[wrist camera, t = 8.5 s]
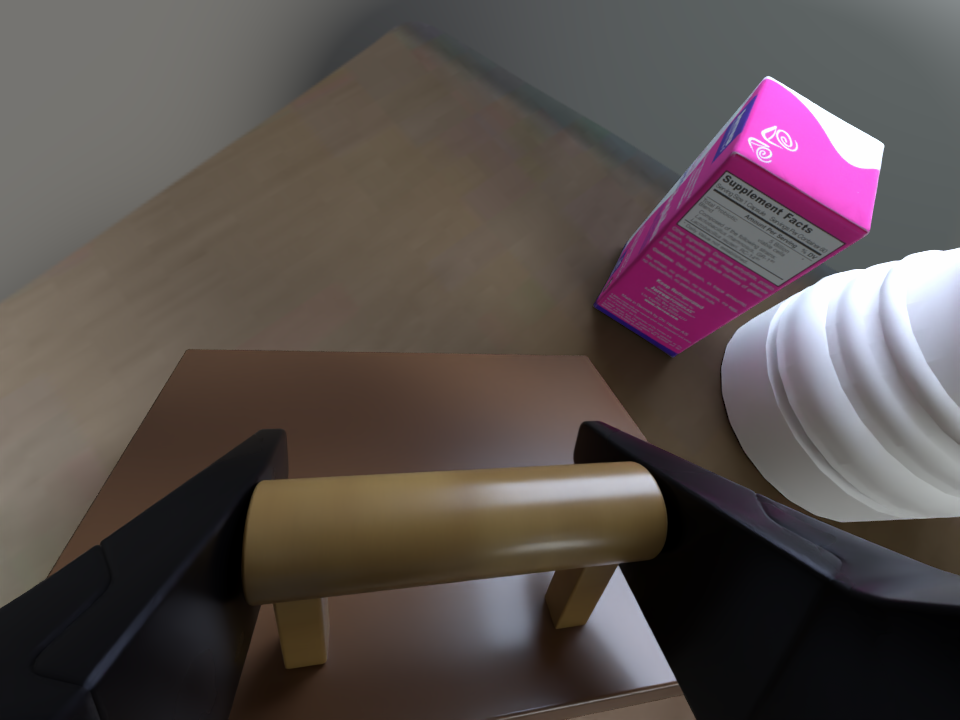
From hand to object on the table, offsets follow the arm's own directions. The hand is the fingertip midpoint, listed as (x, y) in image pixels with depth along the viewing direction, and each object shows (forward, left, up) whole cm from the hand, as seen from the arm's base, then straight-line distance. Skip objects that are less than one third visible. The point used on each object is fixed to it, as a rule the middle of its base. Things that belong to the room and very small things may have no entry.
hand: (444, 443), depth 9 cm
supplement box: (+18, +2, -11) cm, 22 cm away
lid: (0, 0, -4) cm, 4 cm away
